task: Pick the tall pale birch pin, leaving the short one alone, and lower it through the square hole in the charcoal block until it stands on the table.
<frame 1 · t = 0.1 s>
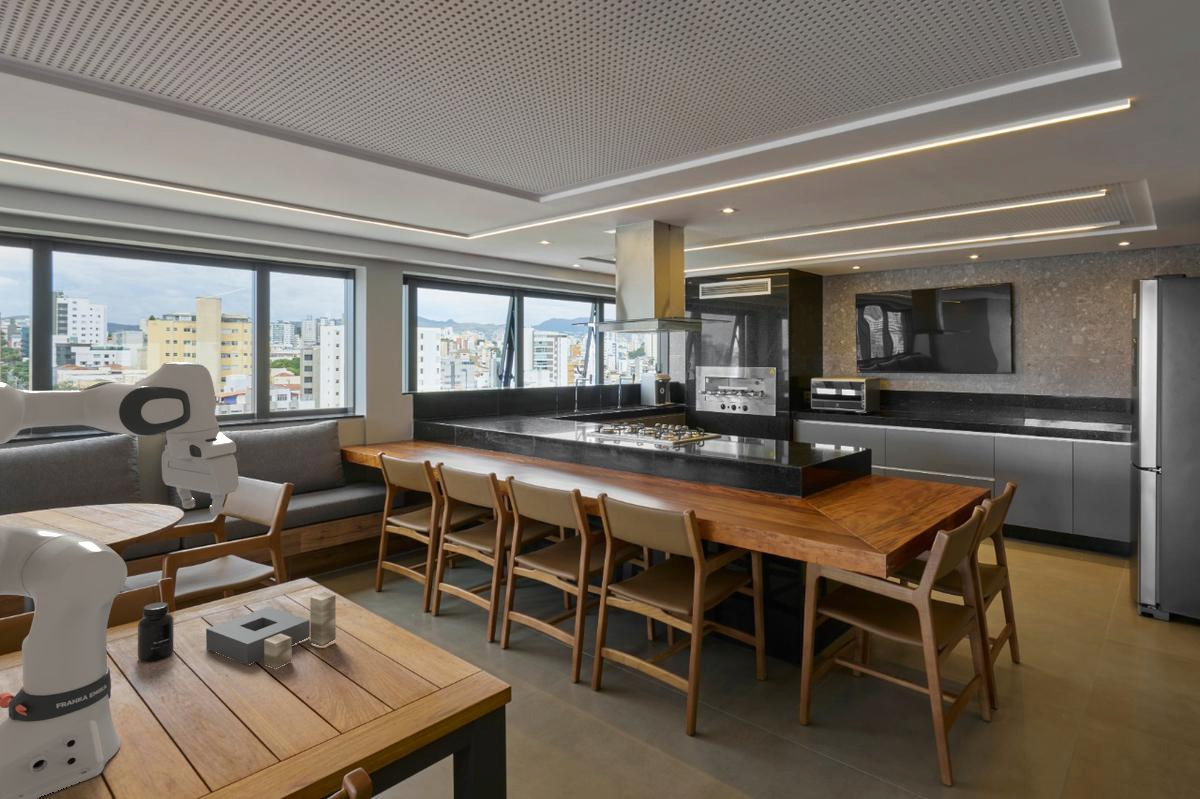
hand: (202, 510, 129), 39 cm above the table, tool pointing down, fingers open, 8 cm apart
supplement bottle: (156, 657, 148), on the table
tall pin: (323, 644, 157), on the table
short pin: (278, 664, 146), on the table
socket block: (259, 644, 156), on the table
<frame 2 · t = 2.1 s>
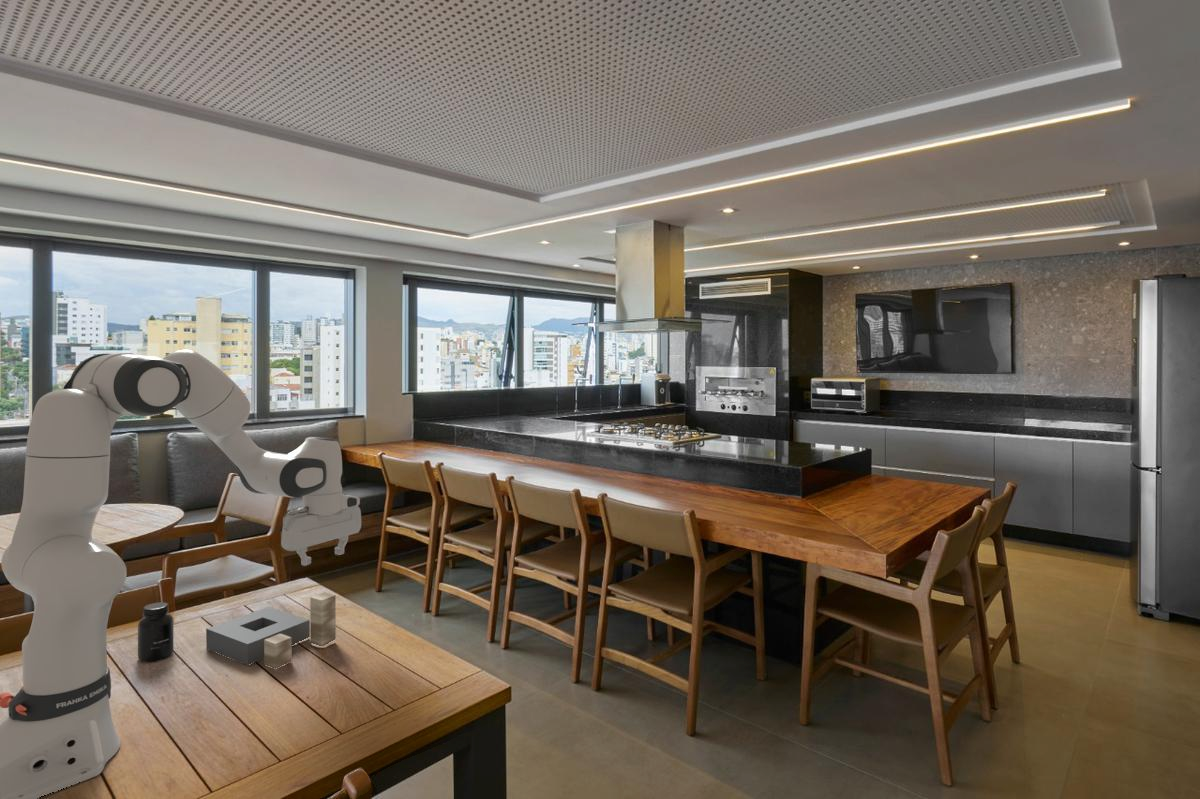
hand: (323, 559, 155), 21 cm above the table, tool pointing down, fingers open, 8 cm apart
nothing on the table moved.
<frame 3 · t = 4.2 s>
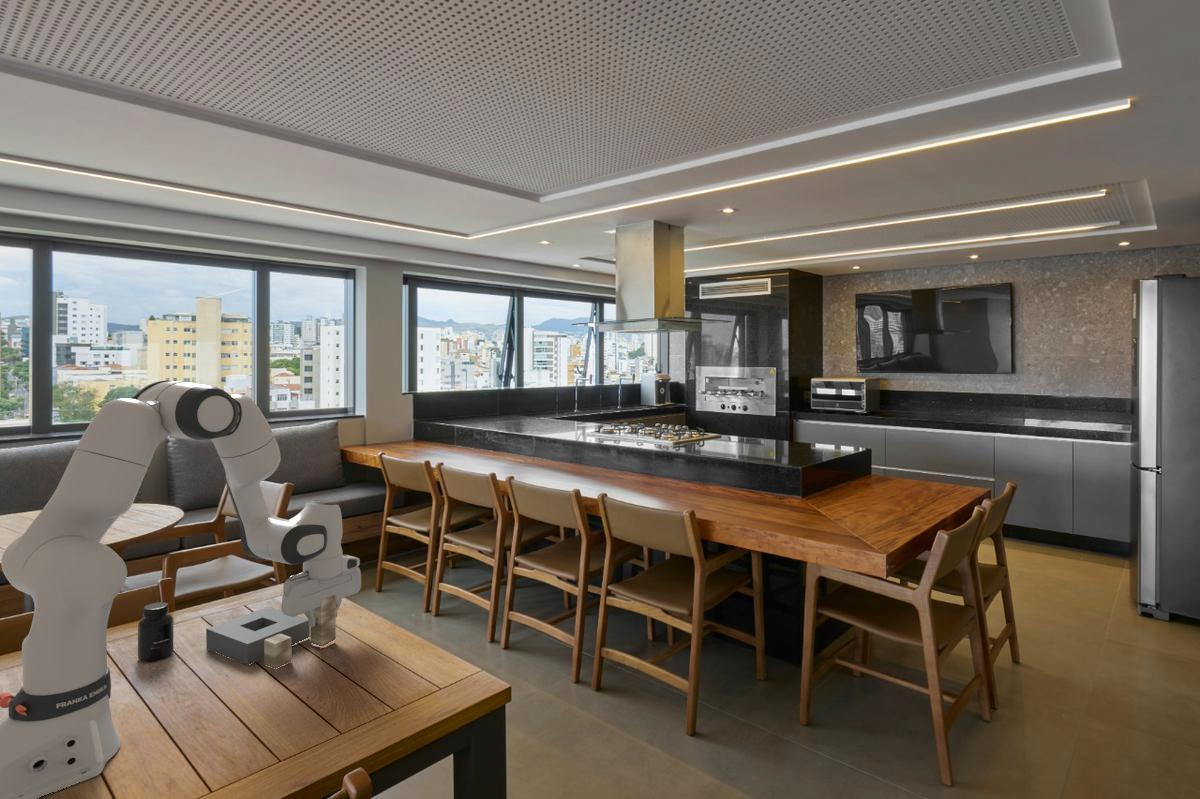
hand: (323, 621, 156), 6 cm above the table, tool pointing down, fingers closed on tall pin, 4 cm apart
tall pin: (323, 644, 157), on the table, touching gripper
everything else where it was.
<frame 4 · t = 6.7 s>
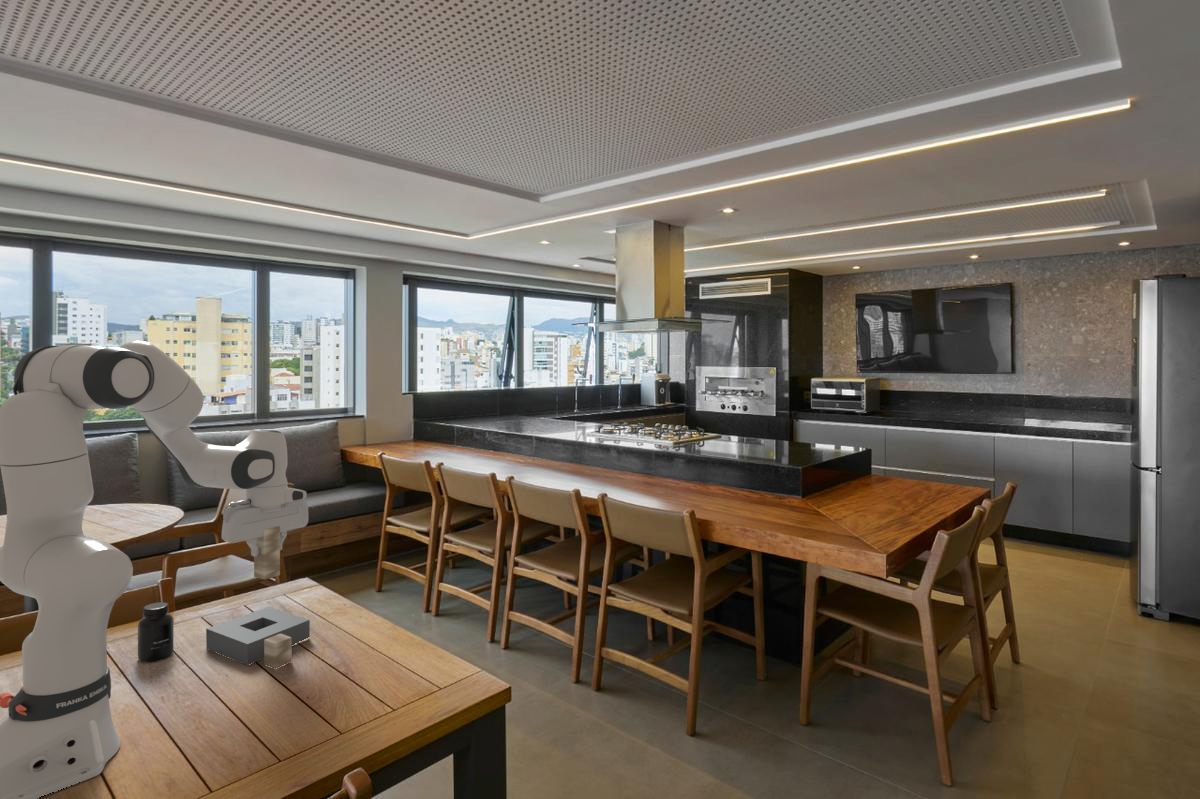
hand: (267, 552, 154), 23 cm above the table, tool pointing down, fingers closed on tall pin, 4 cm apart
tall pin: (267, 575, 155), point 17 cm above the table, touching gripper
everything else where it was.
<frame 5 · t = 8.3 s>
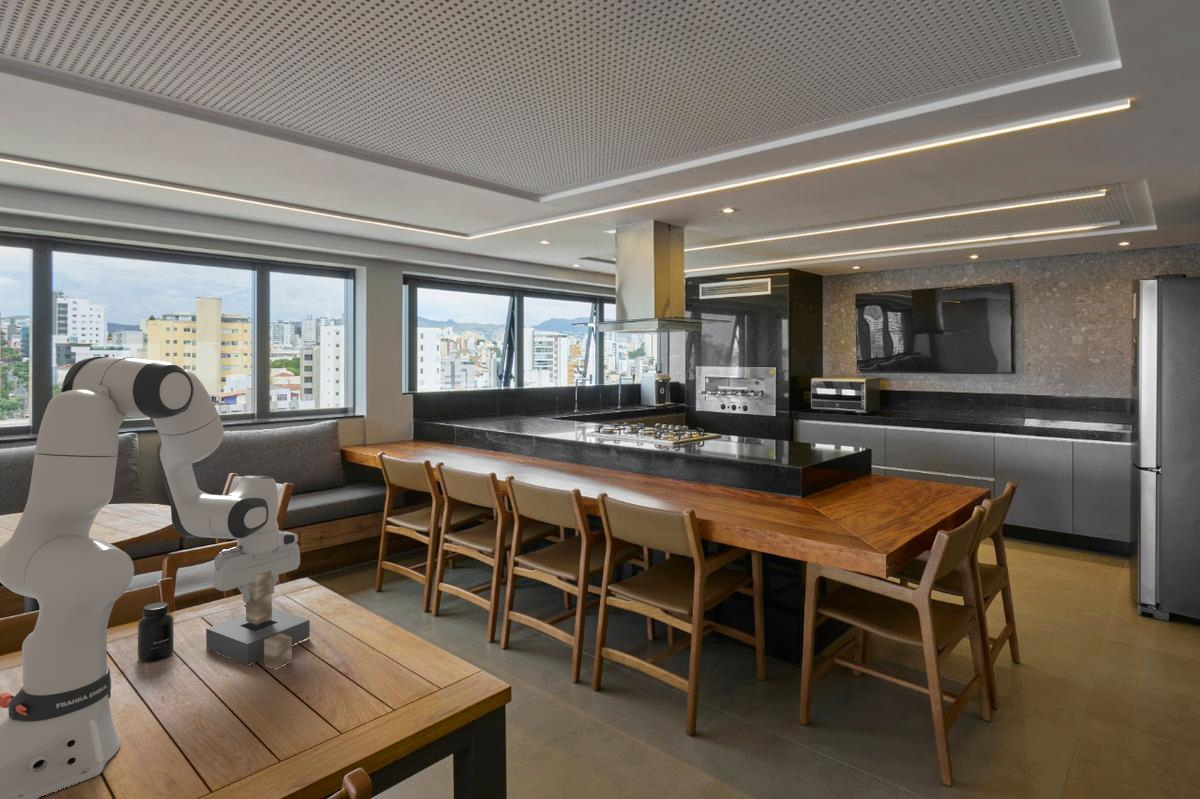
hand: (258, 597, 155), 12 cm above the table, tool pointing down, fingers closed on tall pin, 4 cm apart
tall pin: (259, 620, 156), point 6 cm above the table, touching gripper
everything else where it was.
when the fingers open (7 cm above the table, at t = 9.5 s): tall pin drops 1 cm, resting in socket block.
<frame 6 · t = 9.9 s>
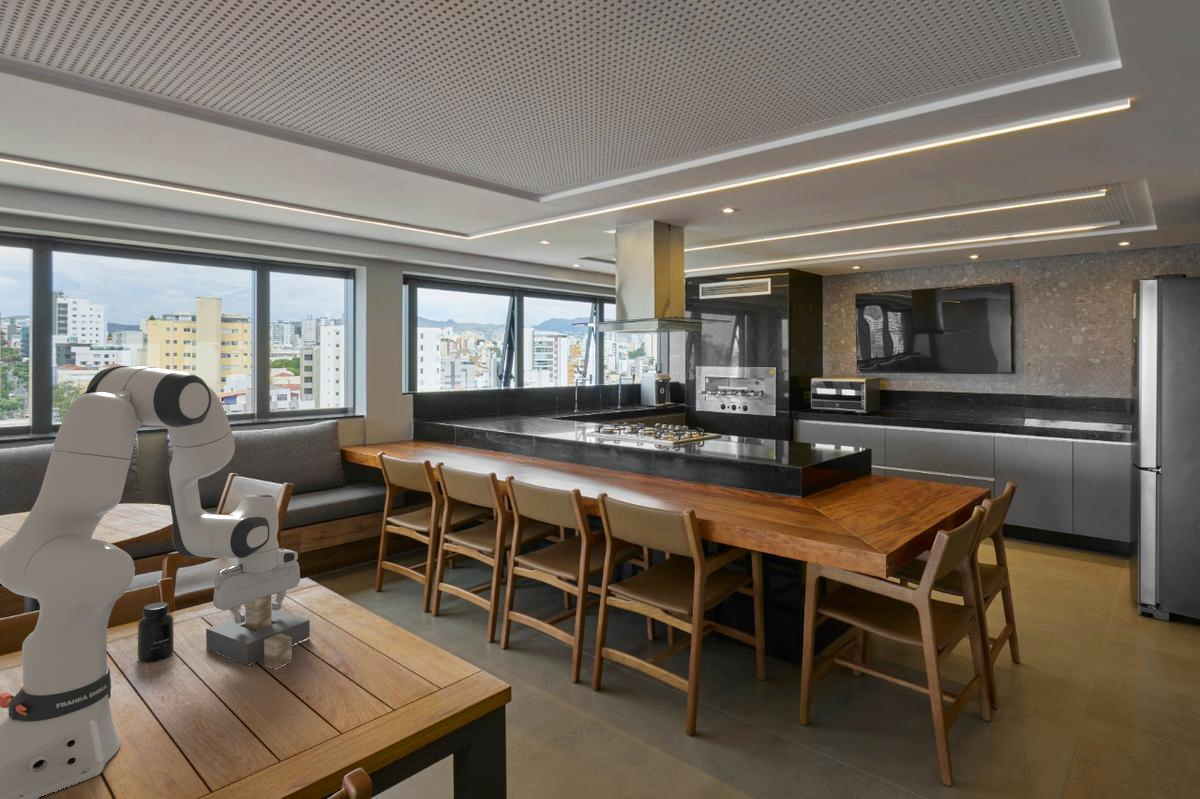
hand: (258, 615, 155), 7 cm above the table, tool pointing down, fingers open, 8 cm apart
tall pin: (258, 644, 156), resting in socket block
everything else where it was.
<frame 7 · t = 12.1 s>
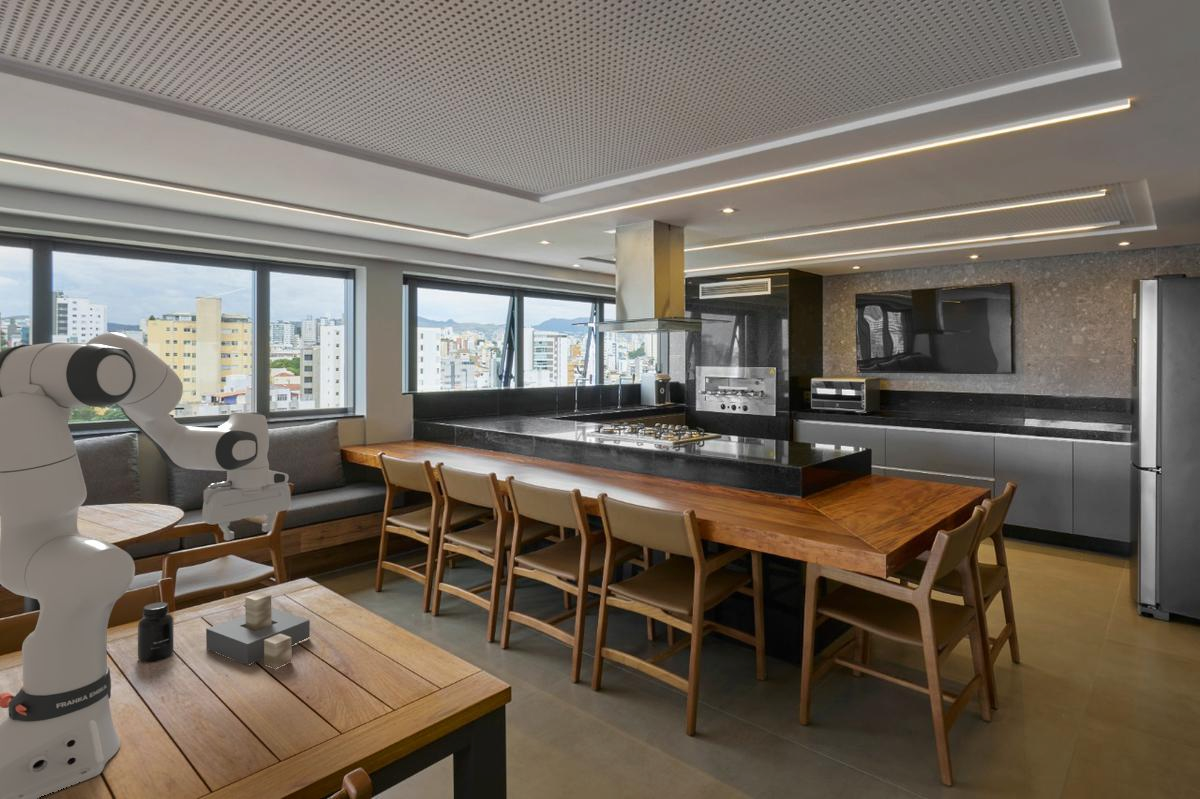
hand: (248, 535, 154), 27 cm above the table, tool pointing down, fingers open, 8 cm apart
nothing on the table moved.
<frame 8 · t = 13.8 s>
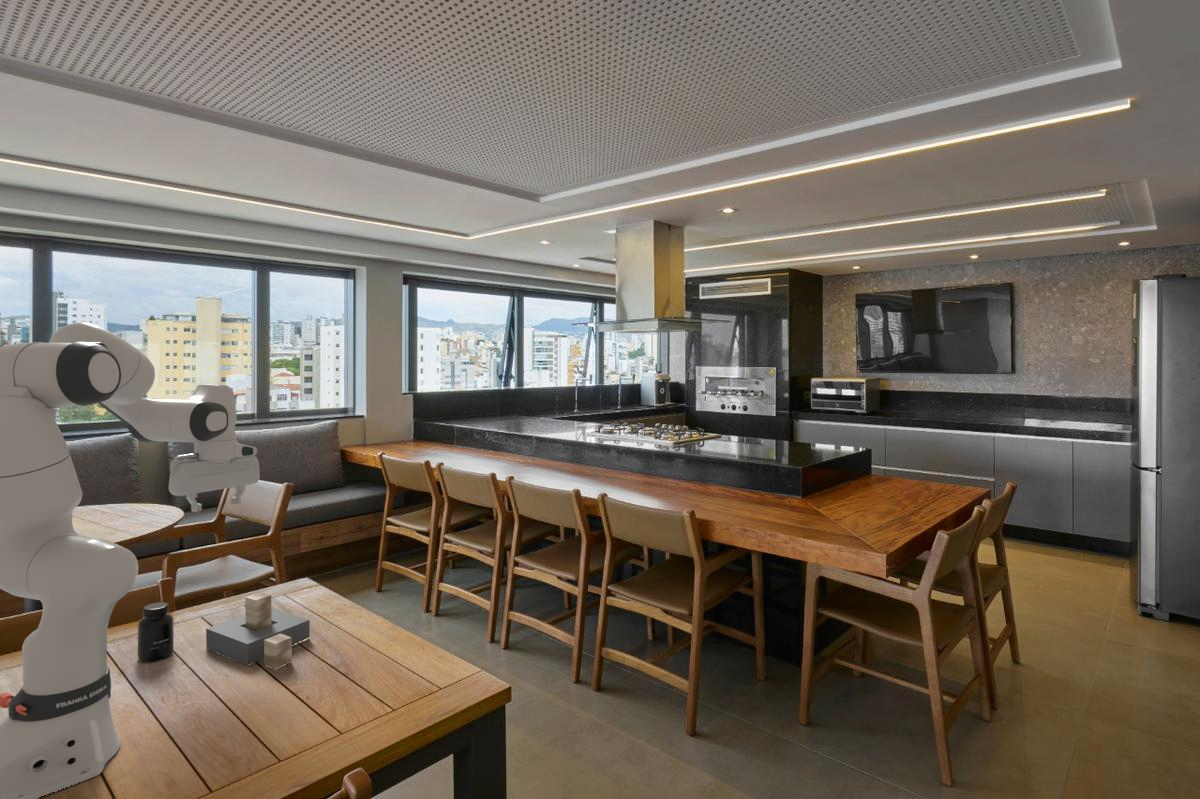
hand: (216, 507, 155), 33 cm above the table, tool pointing down, fingers open, 8 cm apart
nothing on the table moved.
at the end: tall pin 0.1 cm off-centre on the socket block, point 0.0 cm above the socket block's base; tall pin tilted 0°; short pin moved 0.1 cm from its start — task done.
